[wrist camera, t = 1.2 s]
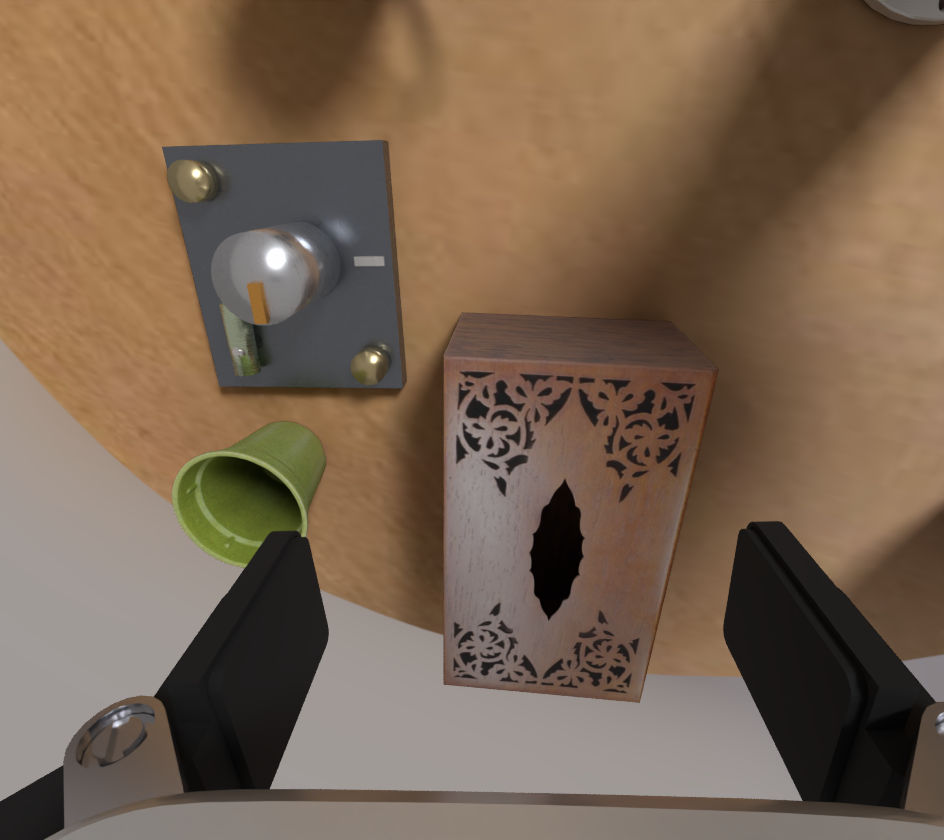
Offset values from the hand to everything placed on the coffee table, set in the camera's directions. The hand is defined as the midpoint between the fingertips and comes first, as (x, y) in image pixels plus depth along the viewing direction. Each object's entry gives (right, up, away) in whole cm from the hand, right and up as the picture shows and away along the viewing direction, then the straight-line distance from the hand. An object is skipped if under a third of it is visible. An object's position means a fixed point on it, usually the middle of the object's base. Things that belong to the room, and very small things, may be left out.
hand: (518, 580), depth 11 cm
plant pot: (-16, +1, +32) cm, 36 cm away
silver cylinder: (-12, +14, +23) cm, 30 cm away
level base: (-13, +14, +25) cm, 32 cm away
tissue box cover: (+5, -1, +31) cm, 31 cm away
